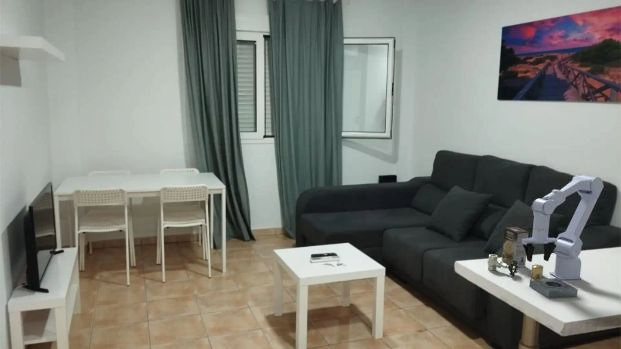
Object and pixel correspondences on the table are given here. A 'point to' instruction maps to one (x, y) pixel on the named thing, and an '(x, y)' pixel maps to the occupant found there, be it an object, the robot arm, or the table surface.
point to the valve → (501, 265)
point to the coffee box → (514, 246)
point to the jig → (553, 288)
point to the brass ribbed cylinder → (536, 272)
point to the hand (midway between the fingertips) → (537, 260)
